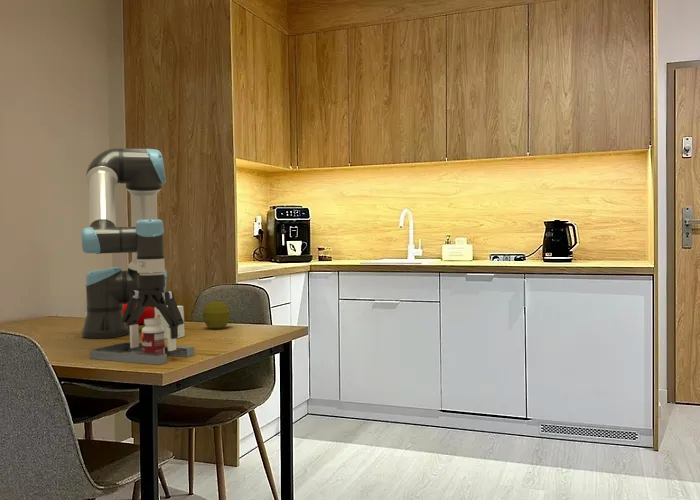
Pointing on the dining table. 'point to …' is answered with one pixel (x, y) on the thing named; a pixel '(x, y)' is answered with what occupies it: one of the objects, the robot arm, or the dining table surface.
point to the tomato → (146, 314)
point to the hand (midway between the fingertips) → (153, 348)
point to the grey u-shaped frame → (138, 354)
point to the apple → (216, 315)
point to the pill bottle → (153, 336)
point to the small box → (165, 325)
